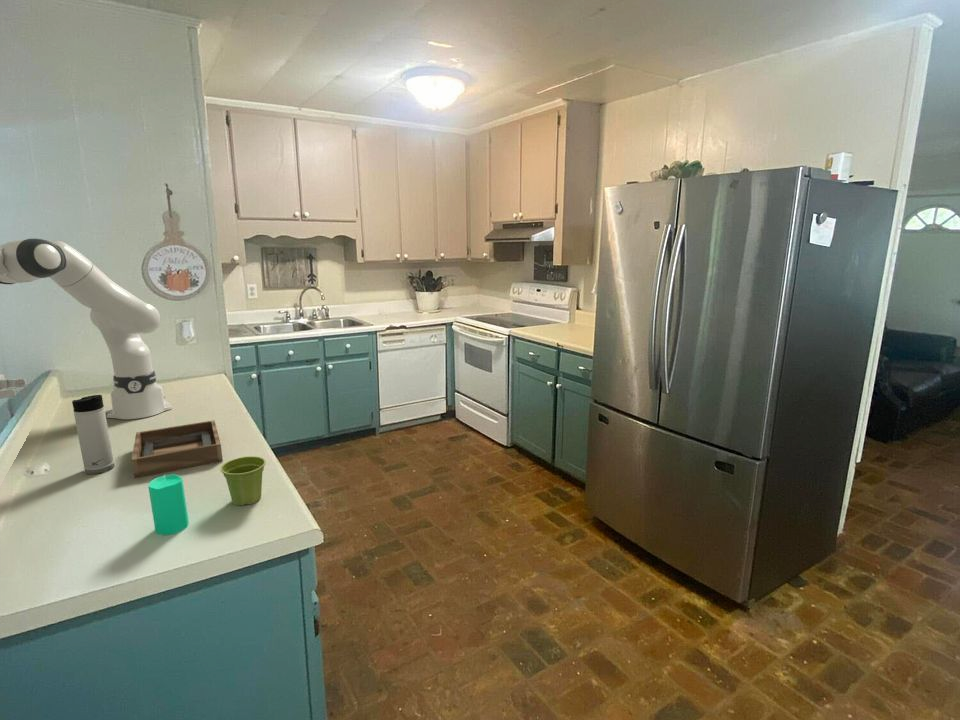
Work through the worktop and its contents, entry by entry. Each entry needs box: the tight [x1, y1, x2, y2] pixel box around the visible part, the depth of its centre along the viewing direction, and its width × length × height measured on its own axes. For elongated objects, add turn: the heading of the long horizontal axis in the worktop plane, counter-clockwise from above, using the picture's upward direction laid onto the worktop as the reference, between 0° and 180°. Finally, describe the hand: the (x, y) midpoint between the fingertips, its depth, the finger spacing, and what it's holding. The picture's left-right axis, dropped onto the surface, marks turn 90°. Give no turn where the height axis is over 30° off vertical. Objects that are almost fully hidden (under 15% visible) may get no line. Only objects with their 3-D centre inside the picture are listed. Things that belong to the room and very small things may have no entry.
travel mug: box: [71, 394, 115, 475], centre depth 133 cm, size 6×7×20 cm
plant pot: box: [220, 455, 267, 506], centre depth 118 cm, size 9×9×9 cm
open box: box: [131, 419, 224, 479], centre depth 143 cm, size 22×20×5 cm
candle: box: [147, 473, 190, 536], centre depth 106 cm, size 6×6×12 cm
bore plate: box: [143, 431, 212, 457], centre depth 143 cm, size 16×16×2 cm
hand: (20, 387), depth 123 cm, fingers open, 8 cm apart
